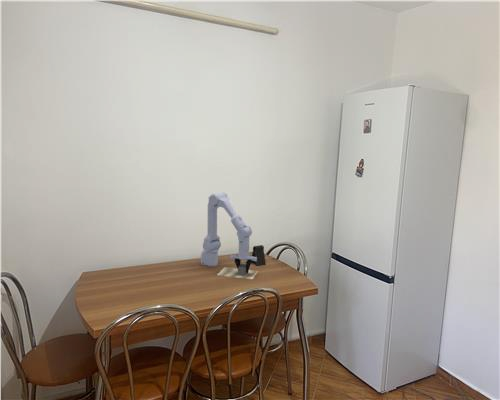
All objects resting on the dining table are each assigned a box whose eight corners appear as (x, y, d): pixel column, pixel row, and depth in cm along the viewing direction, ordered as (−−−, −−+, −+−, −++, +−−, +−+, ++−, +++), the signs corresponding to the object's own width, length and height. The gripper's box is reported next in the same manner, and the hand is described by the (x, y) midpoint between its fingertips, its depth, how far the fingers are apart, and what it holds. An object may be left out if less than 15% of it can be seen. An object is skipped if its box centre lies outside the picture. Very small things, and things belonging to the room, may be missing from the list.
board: (216, 276, 198) (216, 275, 198) (224, 268, 211) (224, 267, 211) (252, 281, 193) (252, 279, 193) (258, 272, 207) (258, 270, 207)
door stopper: (266, 266, 218) (266, 247, 216) (257, 268, 215) (258, 248, 213) (257, 262, 225) (258, 243, 224) (249, 263, 222) (250, 244, 220)
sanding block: (237, 275, 198) (237, 267, 197) (241, 270, 206) (241, 263, 205) (244, 276, 197) (244, 268, 196) (248, 271, 205) (248, 263, 204)
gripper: (229, 249, 197) (228, 273, 199) (255, 251, 194) (254, 276, 196) (232, 245, 204) (232, 269, 206) (257, 248, 201) (257, 272, 203)
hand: (243, 272), depth 201 cm, fingers closed on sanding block, 4 cm apart
